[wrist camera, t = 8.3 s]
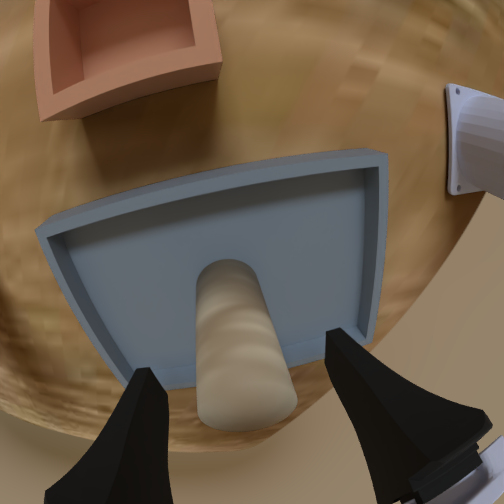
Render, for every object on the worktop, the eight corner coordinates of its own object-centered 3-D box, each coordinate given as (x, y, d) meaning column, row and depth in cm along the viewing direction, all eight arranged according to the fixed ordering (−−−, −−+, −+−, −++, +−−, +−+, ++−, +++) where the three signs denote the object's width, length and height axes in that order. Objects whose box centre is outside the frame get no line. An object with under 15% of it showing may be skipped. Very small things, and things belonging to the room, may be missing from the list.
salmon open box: (199, -31, 8) (199, -71, 4) (218, 79, 11) (222, 61, 8) (70, 9, 7) (36, -14, 4) (80, 118, 11) (40, 121, 7)
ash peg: (252, 252, 15) (295, 371, 8) (262, 303, 16) (299, 419, 9) (188, 266, 15) (182, 393, 8) (205, 316, 16) (213, 437, 9)
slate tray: (366, 148, 14) (388, 153, 12) (360, 324, 20) (372, 342, 18) (52, 215, 12) (34, 229, 11) (132, 372, 18) (128, 393, 17)
